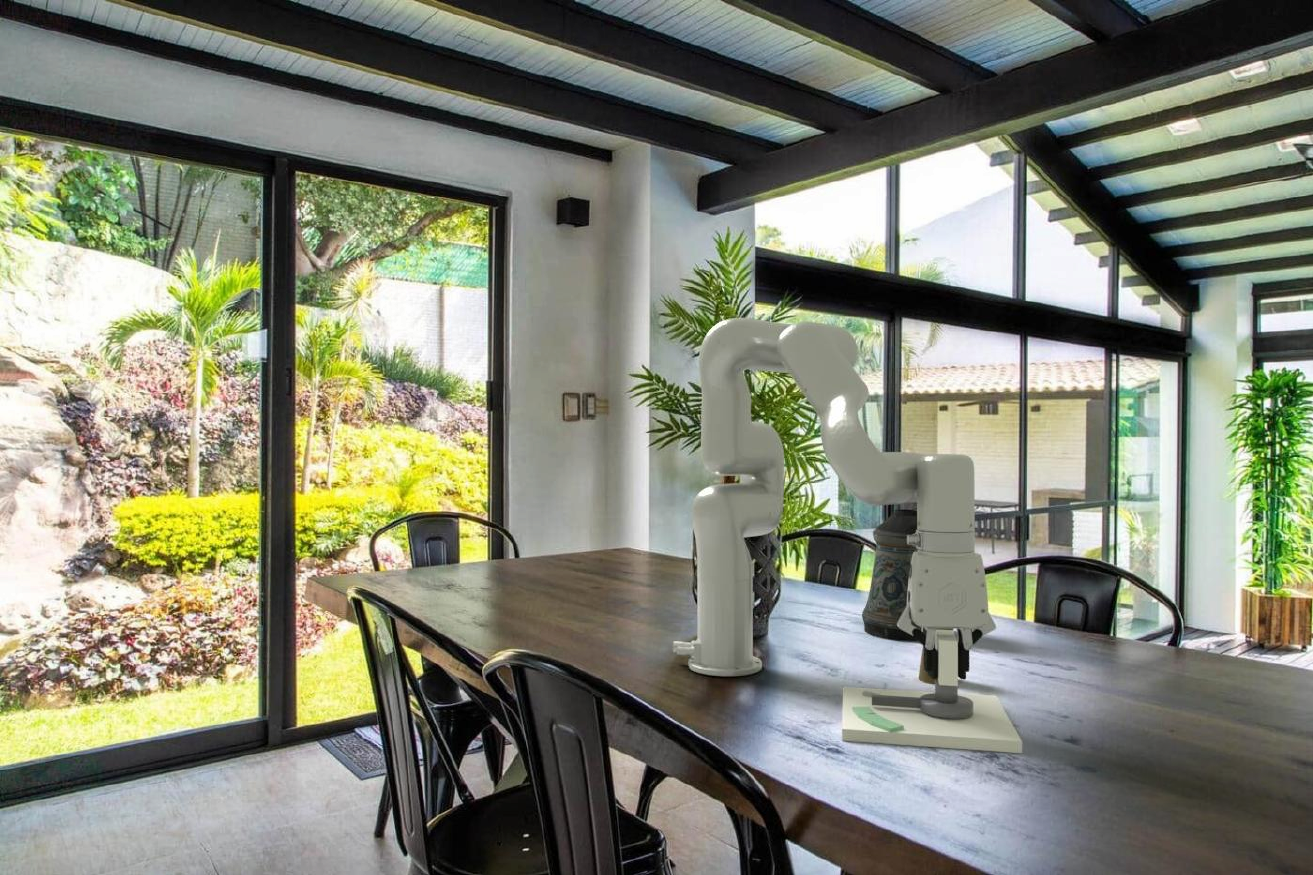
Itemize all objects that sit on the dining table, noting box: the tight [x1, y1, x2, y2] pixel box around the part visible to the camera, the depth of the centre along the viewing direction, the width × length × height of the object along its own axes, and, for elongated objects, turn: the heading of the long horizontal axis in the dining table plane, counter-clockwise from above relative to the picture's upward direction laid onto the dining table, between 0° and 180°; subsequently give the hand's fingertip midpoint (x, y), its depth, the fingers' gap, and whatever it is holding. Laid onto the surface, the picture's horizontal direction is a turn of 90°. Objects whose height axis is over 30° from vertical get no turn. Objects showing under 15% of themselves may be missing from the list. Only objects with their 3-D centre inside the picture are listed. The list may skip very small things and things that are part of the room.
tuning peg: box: [872, 629, 973, 719], centre depth 122 cm, size 14×7×10 cm, turn 76°
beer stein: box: [861, 509, 922, 642], centre depth 178 cm, size 16×19×25 cm
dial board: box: [841, 686, 1023, 754], centre depth 121 cm, size 22×20×2 cm
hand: (946, 675), depth 121 cm, fingers closed on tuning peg, 3 cm apart
